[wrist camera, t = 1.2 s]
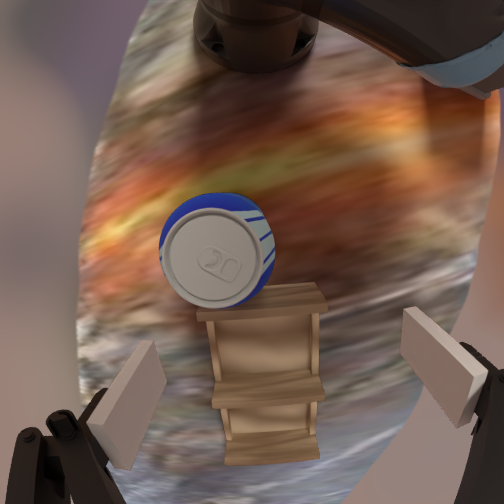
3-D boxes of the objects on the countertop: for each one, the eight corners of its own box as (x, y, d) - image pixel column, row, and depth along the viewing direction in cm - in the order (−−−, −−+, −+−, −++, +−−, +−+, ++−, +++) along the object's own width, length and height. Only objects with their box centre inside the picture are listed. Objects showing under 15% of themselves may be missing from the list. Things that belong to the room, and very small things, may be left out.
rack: (206, 289, 36) (196, 312, 29) (314, 281, 36) (328, 302, 29) (228, 432, 41) (225, 465, 34) (311, 426, 40) (319, 458, 33)
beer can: (211, 275, 36) (181, 336, 20) (182, 210, 34) (128, 225, 19) (277, 249, 35) (297, 294, 19) (250, 181, 34) (247, 171, 18)
